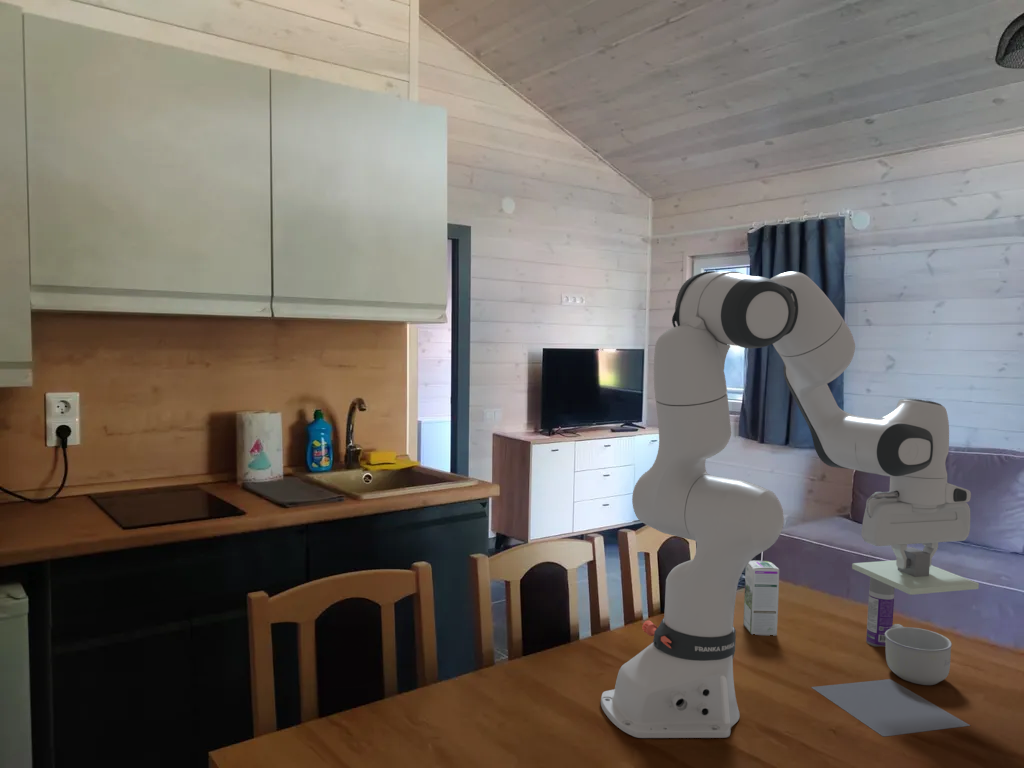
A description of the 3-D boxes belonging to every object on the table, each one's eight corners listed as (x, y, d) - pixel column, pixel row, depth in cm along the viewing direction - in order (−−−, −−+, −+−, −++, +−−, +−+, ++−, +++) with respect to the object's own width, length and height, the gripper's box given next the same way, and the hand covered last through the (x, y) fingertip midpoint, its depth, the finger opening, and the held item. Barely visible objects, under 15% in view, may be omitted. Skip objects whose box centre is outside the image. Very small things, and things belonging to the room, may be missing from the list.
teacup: (958, 695, 129) (961, 651, 129) (892, 687, 131) (895, 644, 131) (930, 663, 143) (932, 623, 143) (870, 656, 145) (873, 617, 145)
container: (892, 642, 153) (896, 572, 152) (890, 650, 149) (894, 577, 148) (867, 637, 155) (871, 567, 155) (864, 644, 151) (868, 573, 151)
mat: (883, 739, 113) (883, 736, 113) (810, 689, 129) (810, 687, 129) (970, 727, 118) (970, 725, 118) (889, 681, 134) (890, 679, 134)
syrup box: (777, 636, 154) (781, 568, 153) (749, 635, 154) (753, 567, 154) (768, 626, 160) (772, 560, 159) (741, 624, 160) (745, 559, 159)
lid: (910, 594, 122) (912, 565, 121) (851, 568, 135) (853, 542, 135) (978, 588, 125) (980, 560, 125) (914, 563, 139) (916, 538, 138)
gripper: (881, 496, 124) (877, 576, 124) (979, 491, 129) (974, 568, 129) (855, 488, 130) (851, 565, 130) (949, 484, 135) (945, 558, 136)
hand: (913, 566), depth 130 cm, fingers closed on lid, 3 cm apart
